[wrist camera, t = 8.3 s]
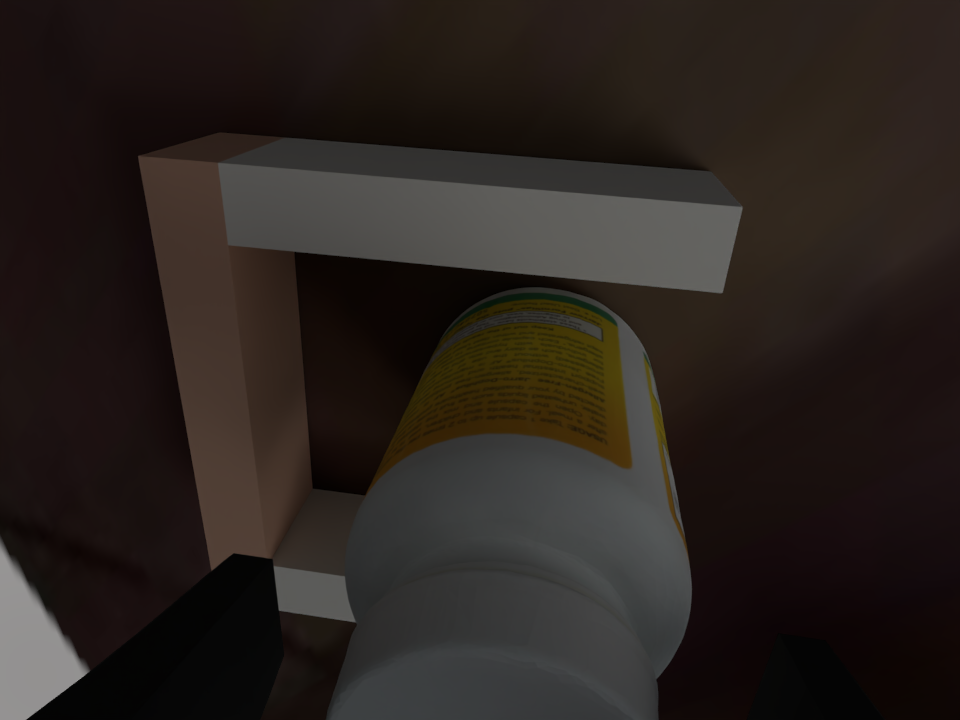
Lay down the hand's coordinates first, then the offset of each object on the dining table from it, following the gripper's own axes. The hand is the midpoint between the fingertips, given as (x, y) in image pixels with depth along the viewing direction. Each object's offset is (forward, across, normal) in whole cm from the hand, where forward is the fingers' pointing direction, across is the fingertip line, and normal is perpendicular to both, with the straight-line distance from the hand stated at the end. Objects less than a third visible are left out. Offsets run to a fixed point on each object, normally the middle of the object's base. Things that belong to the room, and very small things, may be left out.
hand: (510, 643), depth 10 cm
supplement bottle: (+8, 0, 0) cm, 8 cm away
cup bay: (+8, +2, 0) cm, 8 cm away
